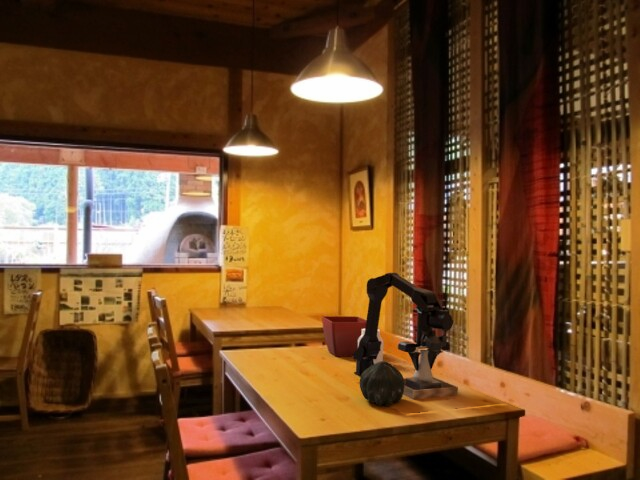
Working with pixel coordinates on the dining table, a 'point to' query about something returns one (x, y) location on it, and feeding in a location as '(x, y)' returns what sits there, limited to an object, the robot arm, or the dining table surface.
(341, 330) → the plant pot
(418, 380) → the block
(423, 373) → the flask
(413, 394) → the brown tray
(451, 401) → the dining table surface
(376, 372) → the squash
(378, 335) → the jar
